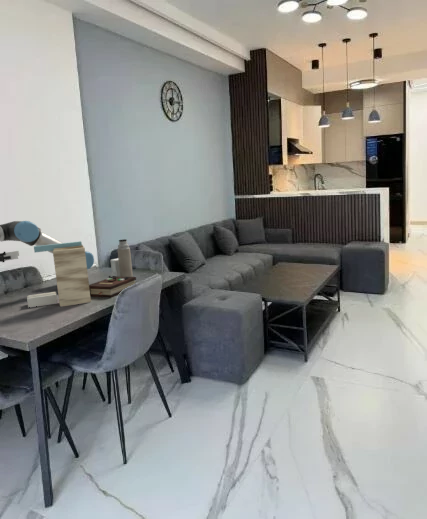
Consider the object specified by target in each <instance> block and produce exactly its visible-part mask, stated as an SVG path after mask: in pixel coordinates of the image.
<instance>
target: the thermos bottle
mask: <svg viewBox="0 0 427 519" xmlns="http://www.w3.org/2000/svg"><path fill="white" fill-rule="evenodd" d="M118 242H119V243H118V244H117V247H118V248H117V258H118V260H119V269H120V277H134V274H133V265H132V264H133V263H132V255H131V254H132V253H131V248H130V245H129V244H128V240H127V239H125V238H124V239H119V240H118Z"/></svg>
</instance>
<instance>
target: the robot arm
mask: <svg viewBox="0 0 427 519" xmlns="http://www.w3.org/2000/svg"><path fill="white" fill-rule="evenodd" d="M7 241H8V242H9V241H12V242H21V243H23V244H25V245H27V246H30V247H34V246H41V245H50V244H60V243H63V242H62V241H60V240H58V239H56V238H54V237H52V236H50V235H48V234H46V233H44V232H42V229H41V228H40V227H38V226H37V224H35V223H34V222H32V221H29V220H15V221H10V222H7V223H4V224H0V242H2V243H3V242H7ZM47 252H48V253H51V254H52V255H53V251H47ZM85 255H86V264H87V271H88V270H90V269H91V268H92V267H93V265H95V264H94V262H95V257H94V254H92V253H91V252H90V251H88V250H85ZM19 256H20V252H19V250H16V251H14V250H13V251H9V252H8V251H3V252H1V253H0V263H5V262H6V261H12V260H18V259H19Z"/></svg>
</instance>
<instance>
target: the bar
mask: <svg viewBox="0 0 427 519" xmlns="http://www.w3.org/2000/svg"><path fill="white" fill-rule="evenodd" d="M82 245H83V244H82V241H81V240H80V241H72V242H71V241H70V242H62V243H60V244H50V245H41V246H36V245H33V250H34V253H42V252H48V251H53V250H54V249H55V248H64V247H73V246H82Z"/></svg>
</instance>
